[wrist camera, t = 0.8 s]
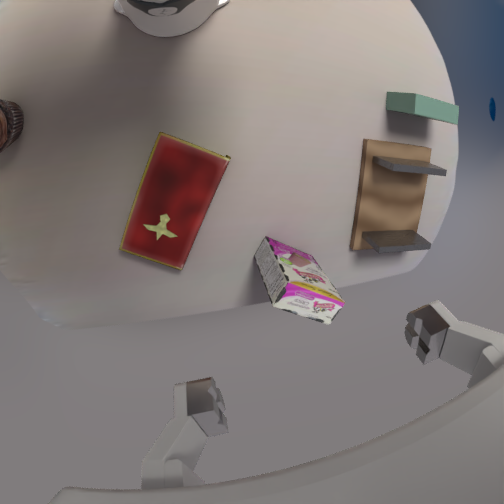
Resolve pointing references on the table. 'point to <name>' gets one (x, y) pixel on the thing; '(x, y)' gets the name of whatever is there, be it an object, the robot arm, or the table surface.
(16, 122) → the cupcake
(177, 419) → the robot arm
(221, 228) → the table surface
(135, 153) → the table surface
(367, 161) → the shelf board
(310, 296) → the candy bar box
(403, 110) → the book
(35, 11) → the table surface
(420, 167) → the bookends
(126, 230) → the hardcover book
